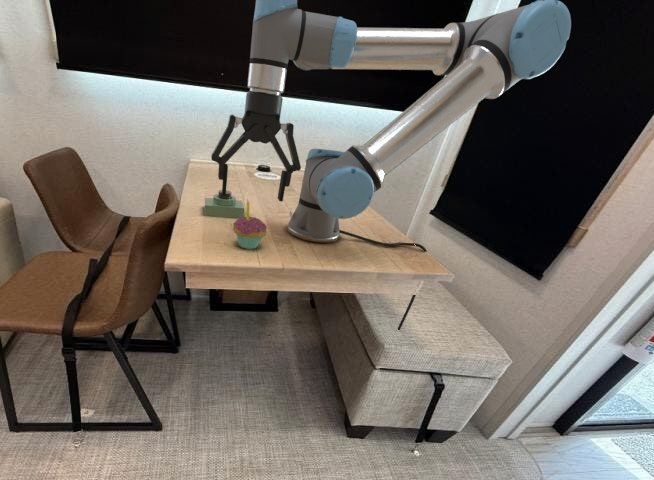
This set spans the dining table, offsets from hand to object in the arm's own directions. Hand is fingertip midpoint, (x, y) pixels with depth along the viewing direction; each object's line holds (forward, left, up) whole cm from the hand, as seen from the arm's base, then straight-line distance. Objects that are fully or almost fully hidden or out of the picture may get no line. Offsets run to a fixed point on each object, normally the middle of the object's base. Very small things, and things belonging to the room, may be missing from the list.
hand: (252, 197), depth 78 cm
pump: (+5, -25, -8) cm, 27 cm away
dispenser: (+5, -25, -12) cm, 28 cm away
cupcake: (0, 0, -12) cm, 12 cm away
